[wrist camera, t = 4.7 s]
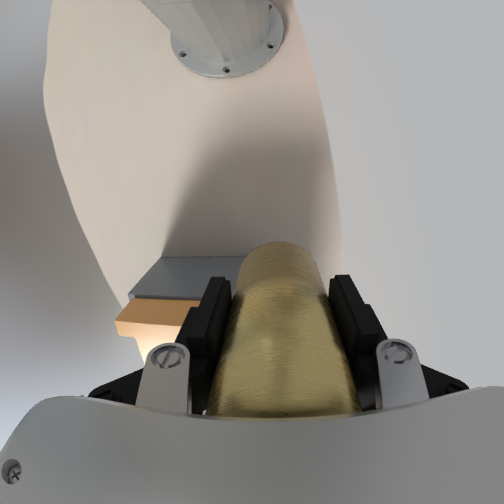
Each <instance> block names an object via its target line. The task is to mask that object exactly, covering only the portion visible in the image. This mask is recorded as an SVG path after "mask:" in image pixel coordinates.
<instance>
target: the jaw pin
mask: <svg viewBox="0 0 504 504" xmlns="http://www.w3.org/2000/svg"><path fill="white" fill-rule="evenodd" d="M358 412H362V408H361V404H360V400H359V397H358V393H357V389H356V386H355V382H354V379H353V375H352V372H351V368H350V365H349V362H348V358H347V355H346V352H345V348H344V345H343V342H342V339H341V335H340V332H339V329H338V326H337V323H336V320H335V317H334V314H333V311H332V308H331V305H330V302H329V299H328V296H327V293H326V290H325V287H324V284H323V282H322V279H321V276H320V273H319V270H318V267H317V265H316V263H315V261H314V259H313V258H312V257H311V256H310V254H309V253H308V252H306V251H305V250H304V249H302V248H301V247H299V246H296V245H294V244H291V243H286V242H273V243H268V244H265V245H262V246H260V247H258V248H256V249H255V250H253V251H252V252H251V253H250V254H249V255H248V256H247V257H246V258H245V259H244V261H243V262H242V265H241V267H240V270H239V273H238V278H237V282H236V286H235V290H234V294H233V298H232V302H231V307H230V311H229V315H228V319H227V323H226V327H225V332H224V336H223V340H222V344H221V349H220V353H219V357H218V361H217V365H216V370H215V374H214V378H213V383H212V387H211V391H210V395H209V400H208V404H207V408H206V413H205V415H207V416H219V417H237V418H302V417H318V416H330V415H341V414H350V413H358Z"/></svg>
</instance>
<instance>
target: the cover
mask: <svg viewBox="0 0 504 504" xmlns="http://www.w3.org/2000/svg"><path fill="white" fill-rule="evenodd" d="M199 304H200V301H193V300H164V299H142V298H132V300H131V301H130V302H129V303H128V304H127V306H126V307H125V308H124V309H123V311H122V312H121V313H120V314H119V316H118V317H117V318H116V320H115V324H116V327H117V330H118V332H119V335H120V336H128V337H135V338H136V341H137V344H138V347H139V350H140V353H141V356H142V358H143V361H144V364H145V361H146V357H147V355H148V353H149V352H150V351H151V350H152V349H153V348H154V347H156V346H158V345H160V344H163V343H170V342H171V343H174V342H175V340H176V337H177V335H178V333H179V331H180V328H181V326H182V324H183V322H184V320H185V318H186V315H187V313H188V311H189V309H190V307H198V306H199Z"/></svg>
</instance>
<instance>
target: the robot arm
mask: <svg viewBox="0 0 504 504" xmlns="http://www.w3.org/2000/svg"><path fill="white" fill-rule="evenodd" d="M139 1H140V2H141V3H143V4H144V5H145V6H146V7H147V8H148V9H149V10H150V11H151V12H152V13H153V14H154V15H155V16H156V17H157V18H158V19H159V20H160V21H161V22H162V23H163V24H164V25H165V26H166V27H167V28H168V29H169V30H170V31H171V46H172V49H173V51H174V54H175V55H176V57H177V58H178V60H179V61H180V62H181V63H182V64H183V65H184V66H186V67H187V68H188V69H190V70H191V71H193V72H195V73H197V74H199V75H203V76H207V77H212V78H232V77H237V76H242V75H245V74H247V73H250V72H253V71H255V70H256V69H258V68H260V67H262V66H263V65H264V64H266V63H267V62H268V61H269V60H270V59H271V58H272V57H273V56H274V55H275V54H276V52H277V50H278V49H279V47H280V45H281V42H282V39H283V32H284V26H283V20H282V17H281V14H280V12H279V11H278V9H277V8H276V6H275V5H274V4H273V3H272V2H271V1H270V0H139ZM270 46H272V47H273V48H272V49H270V48H269V47H270ZM185 54H187V55H186V56H185V57H183V56H184V55H185ZM226 70H230V72H229V73H226ZM328 299H329V302H330V305H331V308H332V311H333V314H334V317H335V320H336V323H337V326H338V329H339V332H340V335H341V339H342V342H343V345H344V348H345V352H346V355H347V358H348V362H349V365H350V368H351V372H352V375H353V379H354V382H355V386H356V389H357V393H358V397H359V400H360V404H361V408H362V412H358V413H350V414H341V415H330V416H318V417H302V418H237V417H219V416H207V415H205V410H206V408H207V404H208V400H209V395H210V391H211V387H212V383H213V378H214V374H215V370H216V365H217V361H218V357H219V353H220V349H221V344H222V340H223V336H224V332H225V327H226V323H227V319H228V315H229V311H230V307H231V302H232V294H231V282H230V280H226V279H225V277H211V278H210V280H209V283H208V285H207V287H206V290H205V292H204V294H203V297H202V299H201V301H200V304H199V306H198V307H190V309H189V311H188V313H187V315H186V318H185V320H184V322H183V324H182V326H181V328H180V331H179V333H178V335H177V337H176V340H175V342H174V343H171V342H170V343H163V344H160V345H158V346H156V347H154V348H153V349H152V350H151V351H150V352H149V353H148V355H147V357H146V361H145V365H144V368H142V369H140V370H137V371H135V372H133V373H130V374H128V375H126V376H123V377H121V378H119V379H117V380H114V381H112V382H109V383H107V384H104V385H102V386H99V387H98V388H95V389H94V390H93V391H92V392H90V394H89V395H88V397H84V396H83V395H82V396H58V397H52V398H48V399H45V400H42V401H40V402H39V403H37V404H36V405H35V406H34V407H32V409H30V410H29V412H28V413H27V414H26V415H25V416H24V418H23V419H22V420H21V422H20V423H19V424H18V426H17V427H16V428H15V430H14V431H13V433H12V434H11V436H10V437H9V439H8V441H7V442H6V444H5V446H4V447H3V449H2V450H1V452H0V504H504V387H502V386H488V387H478V388H473V389H469V387H468V386H467V385H466V384H465V383H463V382H462V381H460V380H458V379H455V378H453V377H451V376H448V375H446V374H443V373H441V372H438V371H436V370H434V369H431V368H429V367H426V366H424V365H422V364H420V362H419V358H418V355H417V352H416V350H415V348H414V347H413V346H412V345H411V344H409V343H408V342H406V341H404V340H400V339H388V338H387V336H386V334H385V332H384V330H383V328H382V326H381V324H380V322H379V320H378V318H377V317H376V315H375V313H374V311H373V309H372V308H371V306H370V304H365V303H364V301H363V300H362V298H361V296H360V294H359V292H358V290H357V288H356V287H355V285H354V283H353V281H352V279H351V278H350V275H335V278H333V279H330V285H329V295H328Z"/></svg>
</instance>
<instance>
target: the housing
mask: <svg viewBox="0 0 504 504" xmlns="http://www.w3.org/2000/svg"><path fill="white" fill-rule="evenodd" d="M246 257H247V256H241V257H161V258H160V259H159V260H158V261H157V262H156V263H155V264H154V265H153V266H152V267H151V268H150V270H149V271H148V272H147V273H146V274H145V275H144V276H143V277H142V278H141V280H140V281H139V282H138V283H137V284H136V285H135V286H134V288H133V289H132V290H131V291H130V292H129V293H128V297H129V300H130V301H131V300H132V298H142V299H164V300H193V301H201V299H202V297H203V294H204V292H205V290H206V287H207V285H208V283H209V280H210V278H211V277H225V279H226V280H230V282H231V294H232V298H233V294H234V290H235V286H236V282H237V278H238V273H239V270H240V267H241V265H242V262H243V261H244V259H245V258H246ZM205 412H206V410H205Z"/></svg>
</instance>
